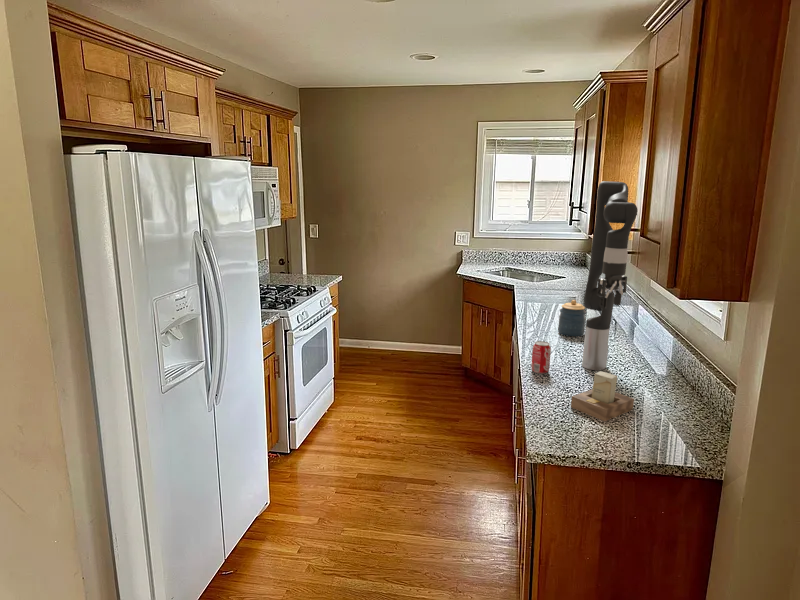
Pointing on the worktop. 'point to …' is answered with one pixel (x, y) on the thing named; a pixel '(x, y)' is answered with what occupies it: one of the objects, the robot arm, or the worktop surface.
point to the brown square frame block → (602, 405)
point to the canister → (572, 319)
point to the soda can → (541, 357)
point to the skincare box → (604, 387)
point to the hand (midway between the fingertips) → (610, 306)
